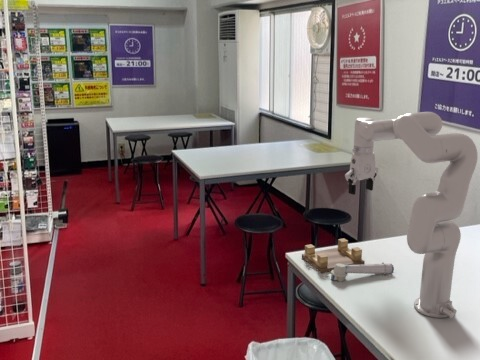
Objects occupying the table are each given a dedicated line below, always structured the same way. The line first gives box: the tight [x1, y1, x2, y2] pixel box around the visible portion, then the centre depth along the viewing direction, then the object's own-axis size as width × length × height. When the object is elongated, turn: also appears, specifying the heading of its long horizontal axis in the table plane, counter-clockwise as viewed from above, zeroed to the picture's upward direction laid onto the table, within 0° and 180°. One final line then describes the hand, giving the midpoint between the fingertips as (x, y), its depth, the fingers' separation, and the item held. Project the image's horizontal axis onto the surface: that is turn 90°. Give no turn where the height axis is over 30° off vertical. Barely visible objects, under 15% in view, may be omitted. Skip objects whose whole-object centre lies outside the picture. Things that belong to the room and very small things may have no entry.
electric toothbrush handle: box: [330, 262, 395, 282], centre depth 196 cm, size 5×7×25 cm
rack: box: [301, 238, 366, 274], centre depth 209 cm, size 16×20×6 cm
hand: (360, 191), depth 203 cm, fingers open, 9 cm apart
